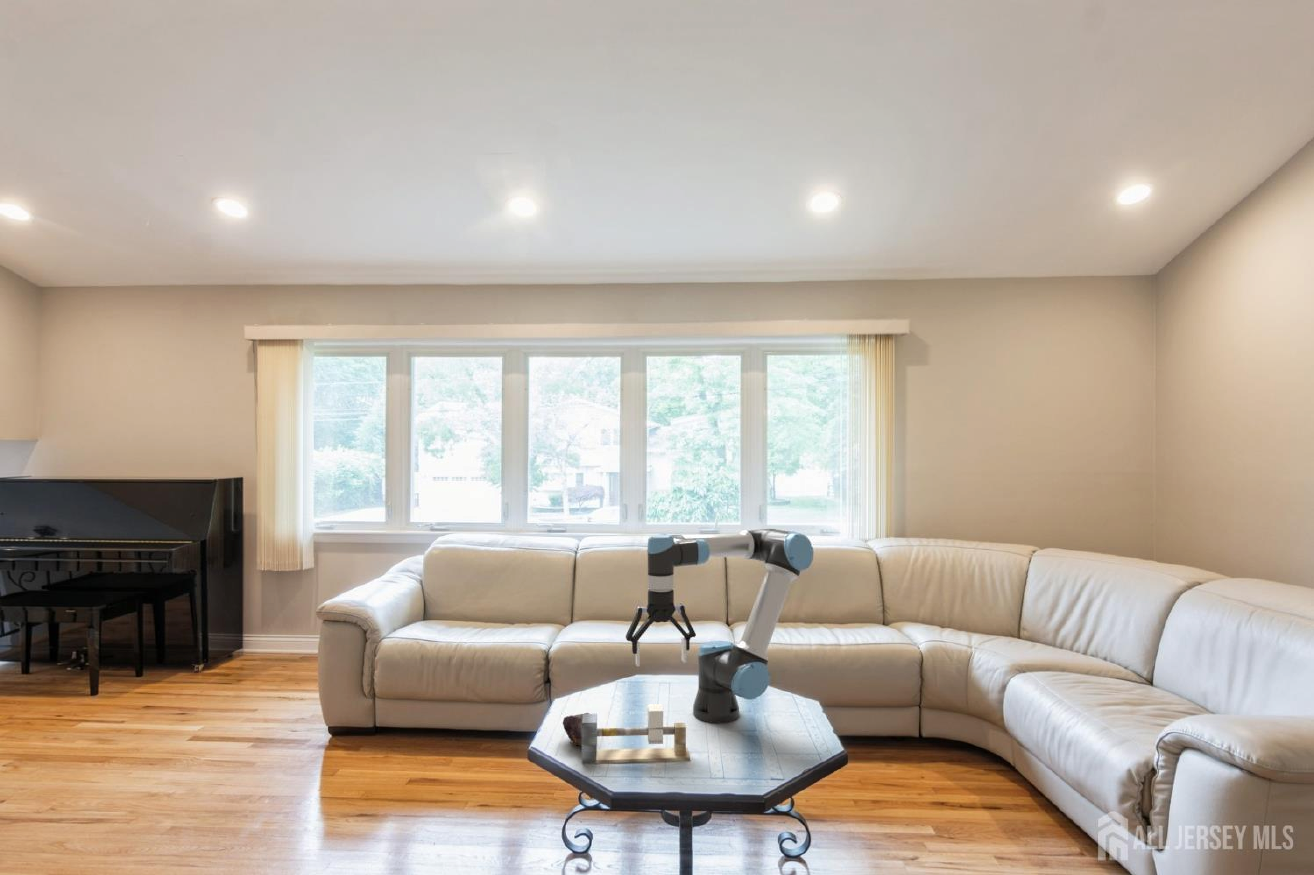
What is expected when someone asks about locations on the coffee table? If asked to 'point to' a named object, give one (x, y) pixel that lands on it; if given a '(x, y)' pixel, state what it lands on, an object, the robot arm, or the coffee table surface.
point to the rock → (574, 728)
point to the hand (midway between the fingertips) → (660, 663)
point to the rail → (630, 755)
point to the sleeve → (655, 723)
